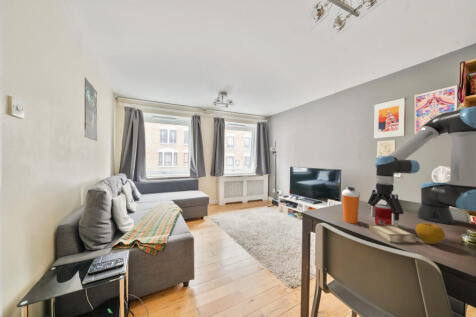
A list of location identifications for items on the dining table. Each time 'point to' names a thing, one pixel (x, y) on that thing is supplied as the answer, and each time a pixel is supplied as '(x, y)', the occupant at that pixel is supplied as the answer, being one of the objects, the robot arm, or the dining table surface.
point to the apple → (430, 233)
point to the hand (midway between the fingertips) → (383, 221)
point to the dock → (392, 233)
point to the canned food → (383, 214)
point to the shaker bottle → (350, 205)
